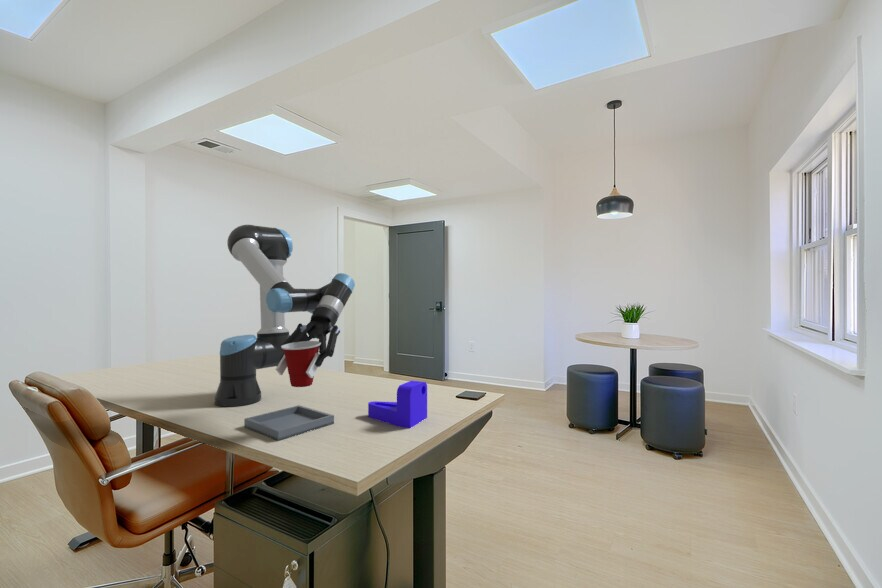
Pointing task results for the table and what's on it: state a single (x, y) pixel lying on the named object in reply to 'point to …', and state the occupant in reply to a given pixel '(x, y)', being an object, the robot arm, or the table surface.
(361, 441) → the table surface
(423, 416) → the bracket
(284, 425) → the tray
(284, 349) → the plastic cup
